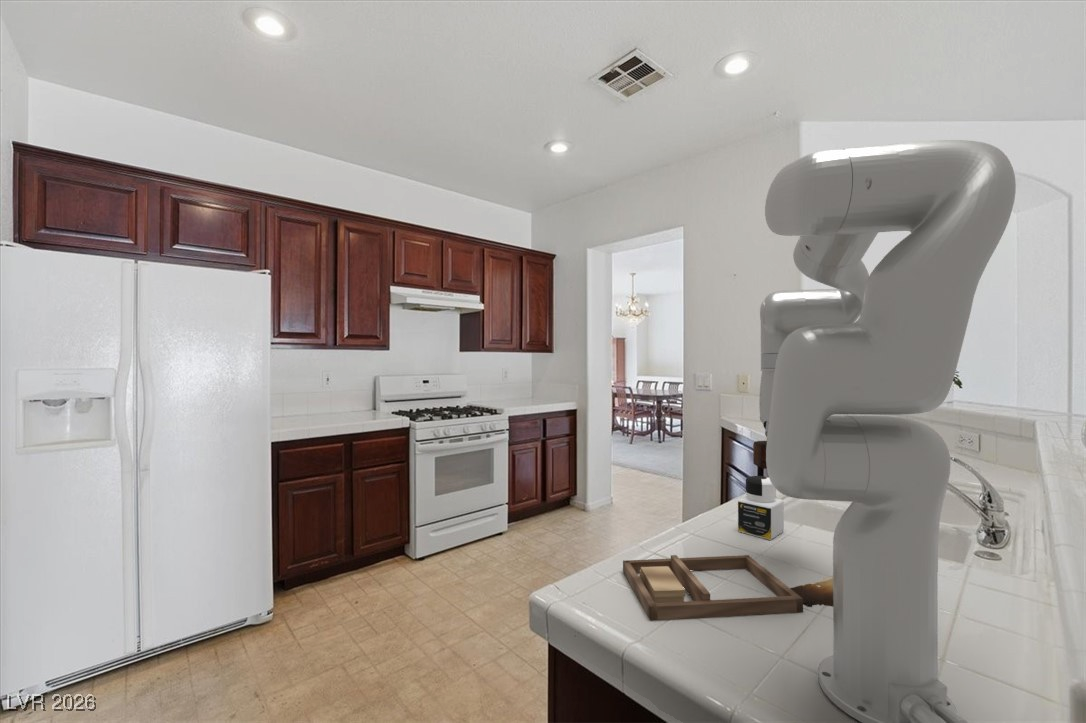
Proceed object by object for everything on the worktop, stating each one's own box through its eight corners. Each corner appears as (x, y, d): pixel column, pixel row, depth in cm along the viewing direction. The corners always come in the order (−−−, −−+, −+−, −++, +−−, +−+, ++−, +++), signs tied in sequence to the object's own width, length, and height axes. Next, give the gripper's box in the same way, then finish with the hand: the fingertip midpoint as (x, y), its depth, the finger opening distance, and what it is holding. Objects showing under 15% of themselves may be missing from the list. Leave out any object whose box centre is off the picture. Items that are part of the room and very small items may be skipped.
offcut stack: (686, 610, 73) (686, 591, 73) (654, 611, 73) (654, 592, 73) (666, 580, 83) (666, 563, 83) (638, 581, 83) (638, 564, 83)
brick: (761, 469, 87) (761, 444, 87) (752, 465, 91) (752, 440, 91) (820, 469, 87) (820, 444, 87) (809, 464, 91) (809, 440, 91)
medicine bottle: (737, 532, 105) (737, 477, 104) (751, 524, 109) (751, 472, 109) (771, 541, 99) (770, 483, 99) (784, 532, 104) (784, 477, 104)
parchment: (887, 568, 86) (887, 563, 86) (945, 592, 77) (945, 587, 77) (772, 588, 80) (772, 582, 80) (820, 617, 71) (820, 611, 71)
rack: (803, 612, 71) (803, 592, 71) (650, 620, 69) (650, 600, 69) (748, 565, 87) (748, 549, 87) (622, 571, 85) (622, 555, 85)
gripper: (833, 363, 81) (833, 471, 81) (776, 363, 97) (776, 452, 98) (791, 363, 80) (791, 472, 80) (741, 363, 97) (741, 452, 97)
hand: (783, 460), depth 89 cm, fingers closed on brick, 4 cm apart
